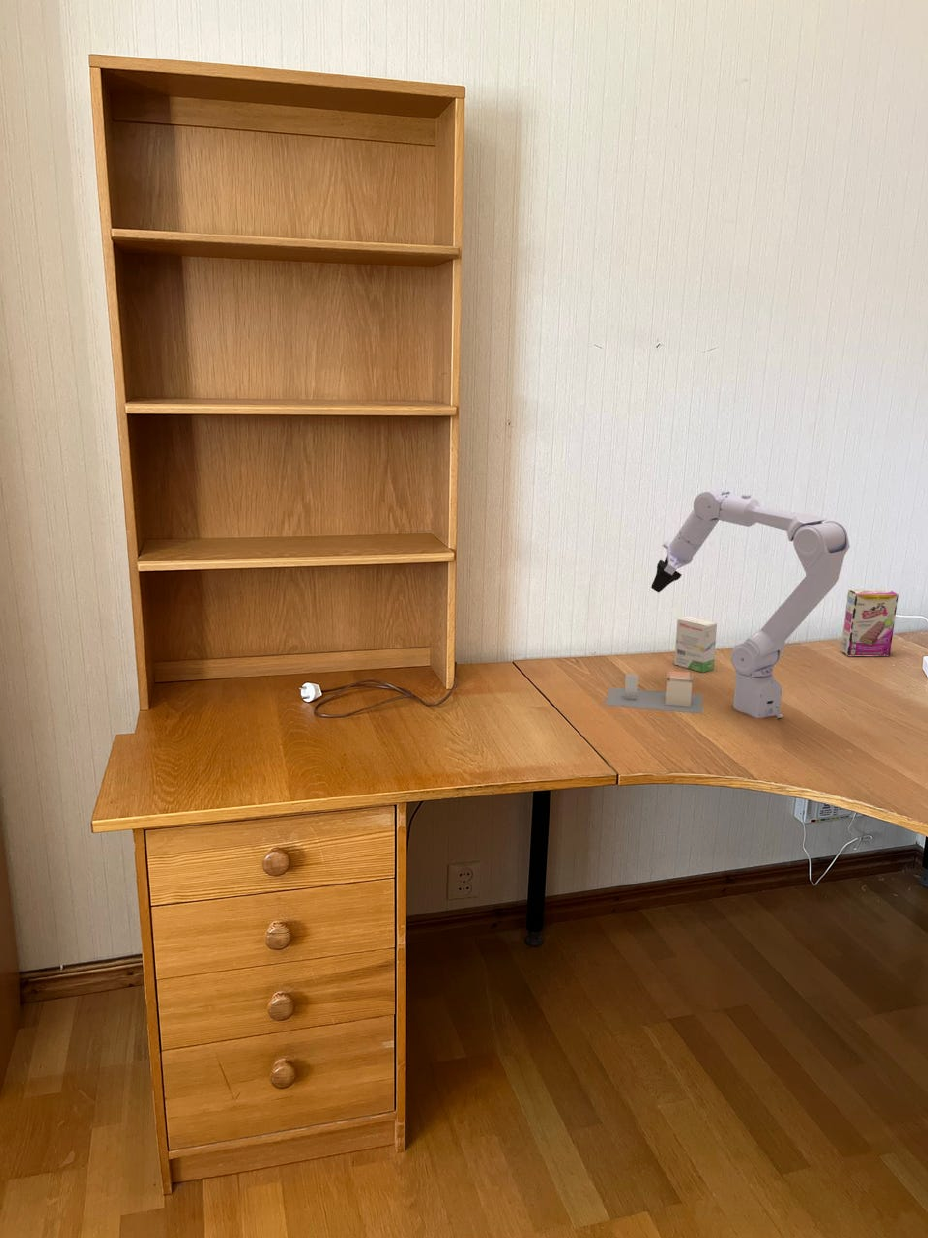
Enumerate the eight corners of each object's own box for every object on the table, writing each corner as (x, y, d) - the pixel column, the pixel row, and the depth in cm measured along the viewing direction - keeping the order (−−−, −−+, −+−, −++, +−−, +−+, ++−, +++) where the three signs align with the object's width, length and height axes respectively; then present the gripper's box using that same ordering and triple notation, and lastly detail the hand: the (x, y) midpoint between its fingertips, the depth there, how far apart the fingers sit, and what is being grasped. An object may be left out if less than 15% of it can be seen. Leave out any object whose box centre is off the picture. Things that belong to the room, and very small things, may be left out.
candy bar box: (848, 657, 242) (855, 593, 238) (839, 651, 247) (846, 589, 243) (891, 657, 243) (899, 593, 238) (882, 651, 248) (889, 588, 243)
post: (637, 700, 210) (638, 674, 208) (636, 704, 207) (637, 678, 206) (624, 699, 210) (626, 673, 209) (624, 703, 208) (625, 677, 206)
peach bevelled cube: (690, 698, 208) (692, 672, 207) (690, 706, 204) (692, 679, 202) (666, 696, 210) (667, 670, 208) (665, 704, 205) (667, 677, 203)
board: (701, 698, 211) (701, 694, 211) (702, 717, 200) (702, 713, 200) (609, 691, 216) (609, 686, 215) (604, 709, 204) (605, 705, 204)
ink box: (714, 669, 232) (718, 622, 229) (702, 673, 229) (706, 625, 225) (685, 661, 238) (689, 614, 235) (673, 664, 235) (676, 618, 232)
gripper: (683, 513, 214) (653, 558, 223) (666, 541, 203) (635, 586, 211) (710, 530, 213) (679, 574, 222) (695, 559, 202) (663, 604, 211)
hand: (659, 581), depth 217 cm, fingers open, 7 cm apart
